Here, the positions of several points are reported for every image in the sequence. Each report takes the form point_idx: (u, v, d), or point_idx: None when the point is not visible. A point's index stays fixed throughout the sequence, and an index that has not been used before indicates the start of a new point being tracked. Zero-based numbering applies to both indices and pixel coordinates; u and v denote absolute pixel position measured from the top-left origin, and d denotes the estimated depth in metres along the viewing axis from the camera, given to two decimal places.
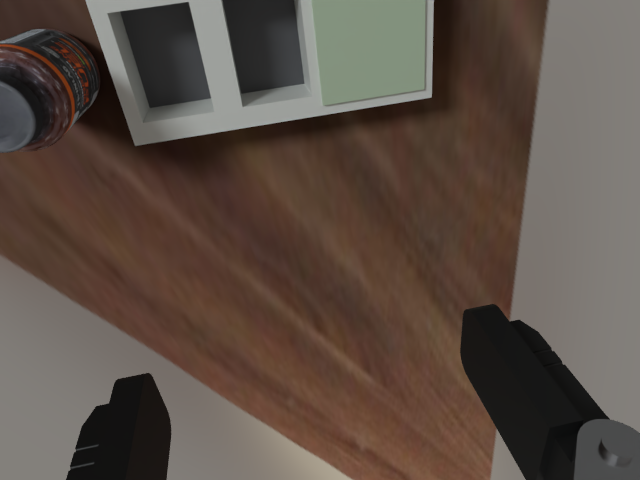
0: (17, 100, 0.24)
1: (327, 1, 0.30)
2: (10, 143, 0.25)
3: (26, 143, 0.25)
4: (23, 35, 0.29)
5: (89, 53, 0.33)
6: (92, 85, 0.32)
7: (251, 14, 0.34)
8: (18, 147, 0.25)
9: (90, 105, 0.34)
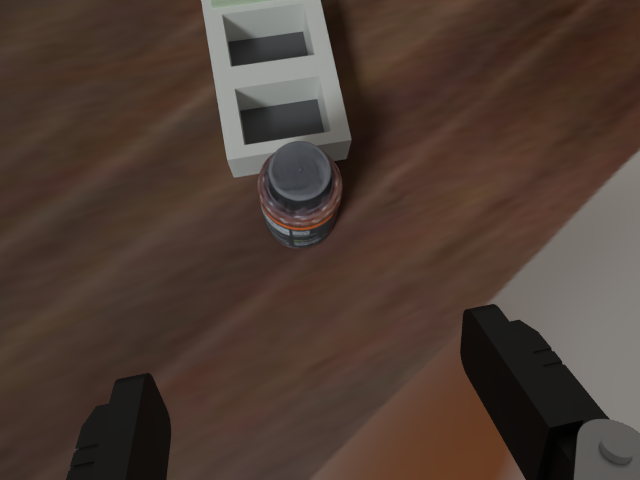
0: (285, 148, 0.30)
1: None
2: (322, 162, 0.29)
3: None
4: None
5: None
6: None
7: None
8: (325, 157, 0.30)
9: None
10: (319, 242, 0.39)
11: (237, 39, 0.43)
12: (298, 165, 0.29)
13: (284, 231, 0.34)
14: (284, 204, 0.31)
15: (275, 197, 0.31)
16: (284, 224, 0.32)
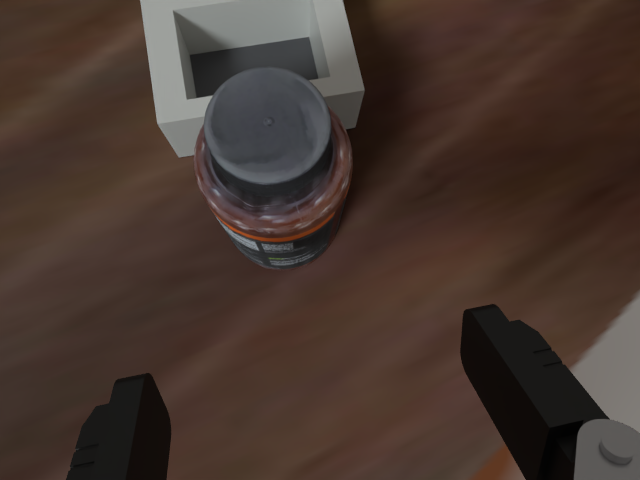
0: (239, 80, 0.15)
1: None
2: (312, 106, 0.15)
3: (313, 86, 0.15)
4: None
5: None
6: None
7: None
8: (320, 97, 0.15)
9: None
10: (313, 259, 0.24)
11: None
12: (264, 114, 0.15)
13: (248, 244, 0.19)
14: (240, 193, 0.16)
15: (223, 180, 0.16)
16: (244, 232, 0.17)
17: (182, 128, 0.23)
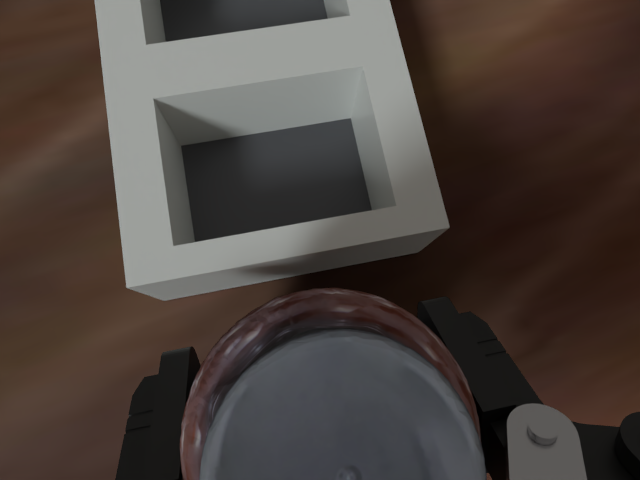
0: (278, 371, 0.07)
1: None
2: (446, 435, 0.06)
3: (444, 379, 0.07)
4: None
5: None
6: None
7: None
8: (460, 410, 0.07)
9: None
10: None
11: None
12: (338, 458, 0.06)
13: None
14: None
15: None
16: None
17: (167, 285, 0.15)
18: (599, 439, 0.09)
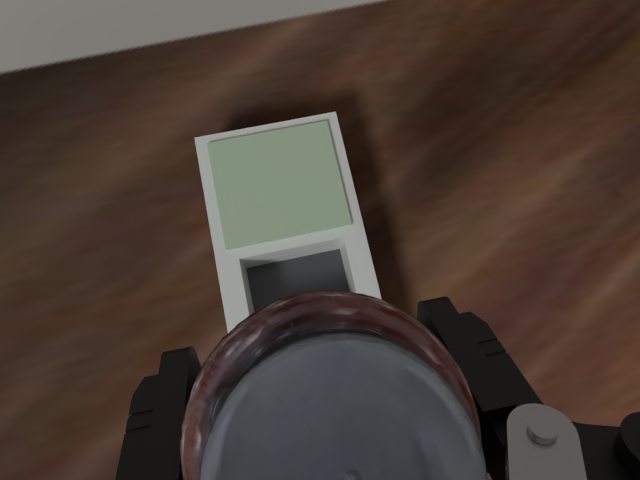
0: (279, 374, 0.07)
1: (249, 229, 0.31)
2: (447, 439, 0.06)
3: (444, 383, 0.07)
4: None
5: None
6: None
7: None
8: (461, 414, 0.07)
9: None
10: None
11: (257, 265, 0.34)
12: (339, 462, 0.06)
13: None
14: None
15: None
16: None
17: None
18: (599, 439, 0.09)
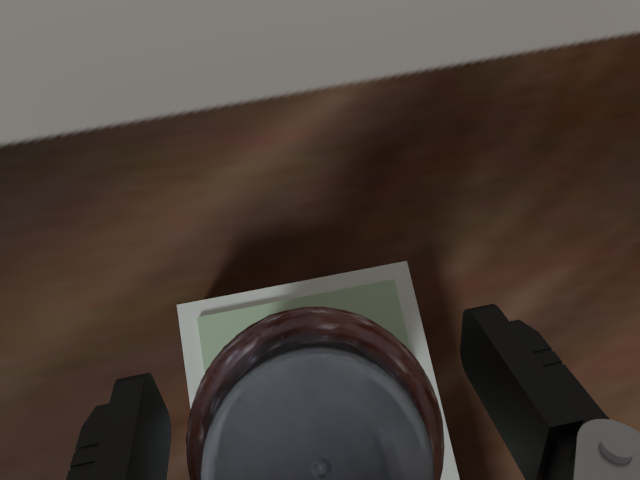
0: (267, 380, 0.08)
1: None
2: (401, 435, 0.08)
3: (401, 390, 0.08)
4: None
5: None
6: None
7: None
8: (414, 415, 0.08)
9: None
10: None
11: None
12: (313, 452, 0.08)
13: None
14: None
15: None
16: None
17: None
18: None
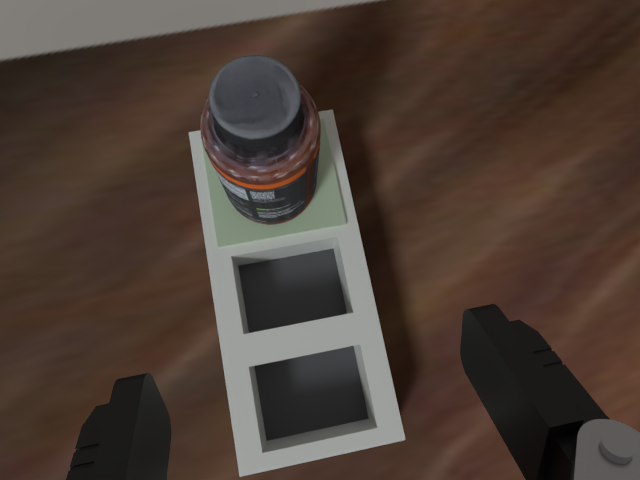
0: (235, 64, 0.20)
1: (242, 226, 0.30)
2: (288, 84, 0.20)
3: (289, 70, 0.21)
4: None
5: None
6: None
7: (268, 304, 0.33)
8: (293, 79, 0.20)
9: None
10: (293, 215, 0.29)
11: (250, 263, 0.34)
12: (252, 89, 0.20)
13: (240, 193, 0.24)
14: (234, 148, 0.21)
15: (222, 138, 0.21)
16: (236, 179, 0.23)
17: None
18: None
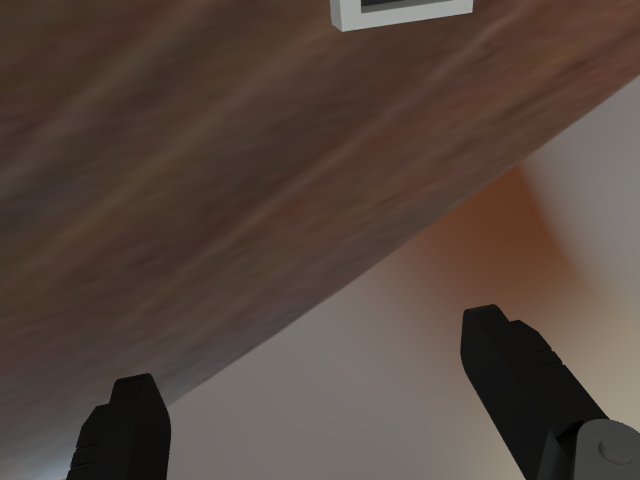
0: None
1: None
2: None
3: None
4: None
5: None
6: None
7: None
8: None
9: None
10: None
11: None
12: None
13: None
14: None
15: None
16: None
17: None
18: None
